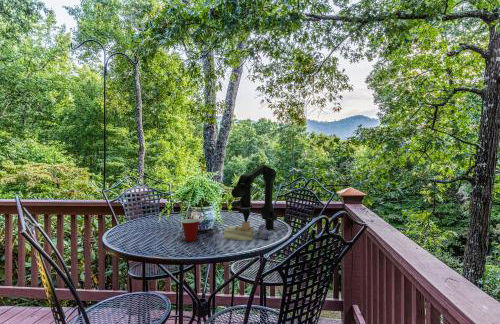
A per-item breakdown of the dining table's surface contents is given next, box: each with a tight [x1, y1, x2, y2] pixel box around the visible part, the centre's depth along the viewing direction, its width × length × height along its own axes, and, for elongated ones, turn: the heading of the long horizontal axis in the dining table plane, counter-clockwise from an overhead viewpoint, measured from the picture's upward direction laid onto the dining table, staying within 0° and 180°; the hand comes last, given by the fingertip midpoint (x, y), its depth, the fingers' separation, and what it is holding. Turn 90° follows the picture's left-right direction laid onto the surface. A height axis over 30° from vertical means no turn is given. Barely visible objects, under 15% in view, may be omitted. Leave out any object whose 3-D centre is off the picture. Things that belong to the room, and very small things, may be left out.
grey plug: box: [229, 225, 236, 230], centre depth 187 cm, size 4×4×5 cm
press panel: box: [223, 225, 255, 241], centre depth 187 cm, size 12×16×5 cm
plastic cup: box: [180, 218, 201, 243], centre depth 180 cm, size 11×11×12 cm
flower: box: [254, 223, 271, 240], centre depth 183 cm, size 9×9×10 cm
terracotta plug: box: [241, 221, 251, 230], centre depth 186 cm, size 4×4×5 cm
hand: (245, 221), depth 186 cm, fingers closed
